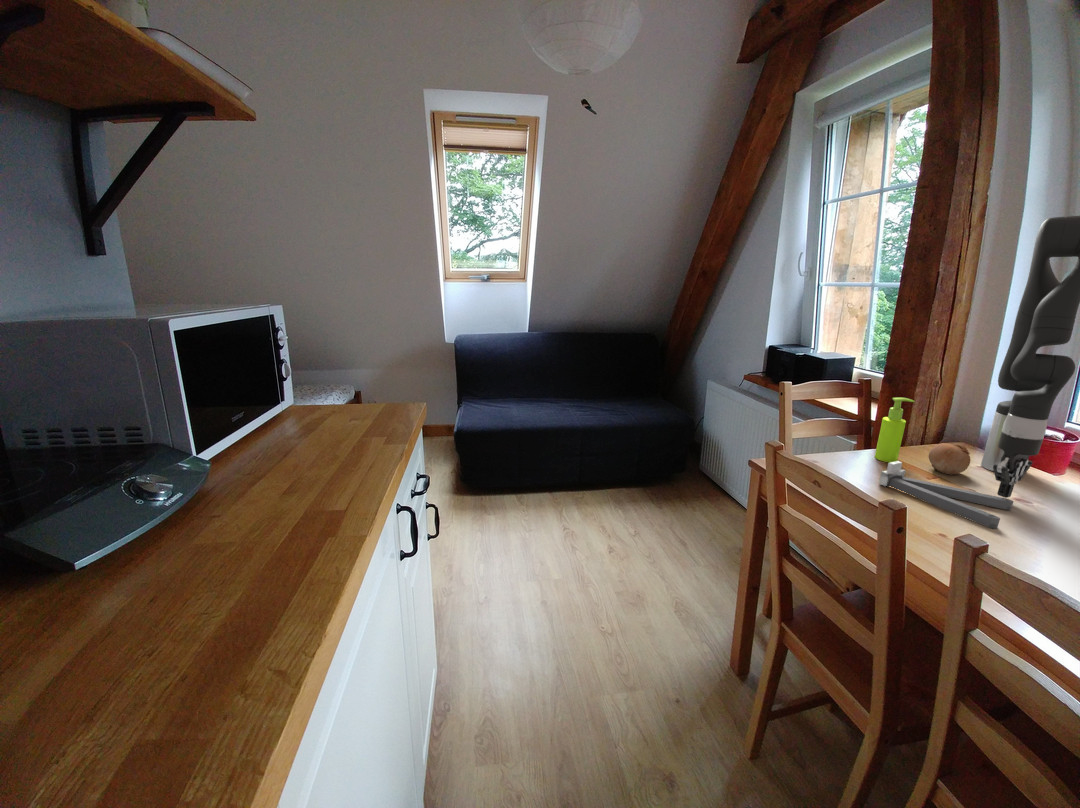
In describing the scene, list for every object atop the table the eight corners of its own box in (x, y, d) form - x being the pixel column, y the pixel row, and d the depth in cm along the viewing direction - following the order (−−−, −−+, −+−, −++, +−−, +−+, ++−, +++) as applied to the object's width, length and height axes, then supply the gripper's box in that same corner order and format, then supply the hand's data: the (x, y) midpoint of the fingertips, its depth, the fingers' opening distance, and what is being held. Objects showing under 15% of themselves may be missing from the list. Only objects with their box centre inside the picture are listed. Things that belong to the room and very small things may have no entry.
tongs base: (880, 483, 135) (881, 475, 134) (890, 480, 137) (892, 472, 136) (994, 529, 112) (997, 519, 111) (1005, 525, 113) (1008, 516, 113)
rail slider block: (878, 483, 134) (883, 463, 133) (895, 479, 137) (899, 459, 135) (886, 486, 133) (890, 465, 131) (902, 482, 135) (907, 462, 133)
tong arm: (900, 486, 133) (902, 479, 132) (901, 483, 134) (902, 476, 134) (1011, 510, 120) (1014, 503, 119) (1010, 507, 121) (1013, 500, 121)
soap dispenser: (904, 463, 149) (918, 401, 143) (879, 461, 150) (893, 400, 145) (895, 456, 155) (908, 396, 149) (871, 454, 156) (883, 395, 150)
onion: (957, 482, 143) (983, 456, 139) (948, 481, 138) (975, 454, 134) (925, 461, 150) (950, 435, 146) (915, 459, 144) (941, 433, 140)
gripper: (1018, 425, 126) (1000, 486, 131) (988, 431, 121) (971, 494, 126) (1056, 434, 119) (1036, 498, 124) (1026, 441, 114) (1006, 507, 119)
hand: (1003, 496), depth 125 cm, fingers closed
